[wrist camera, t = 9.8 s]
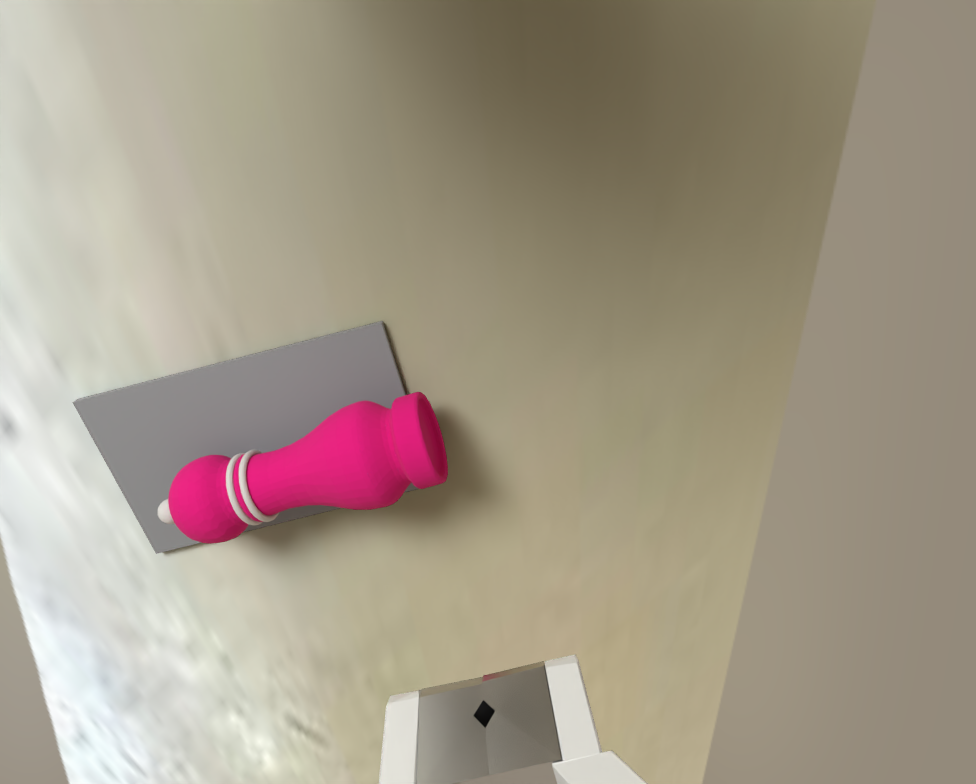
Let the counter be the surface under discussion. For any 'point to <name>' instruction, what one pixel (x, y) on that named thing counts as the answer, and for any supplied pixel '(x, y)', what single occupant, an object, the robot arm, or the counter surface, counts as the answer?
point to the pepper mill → (313, 470)
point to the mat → (233, 415)
